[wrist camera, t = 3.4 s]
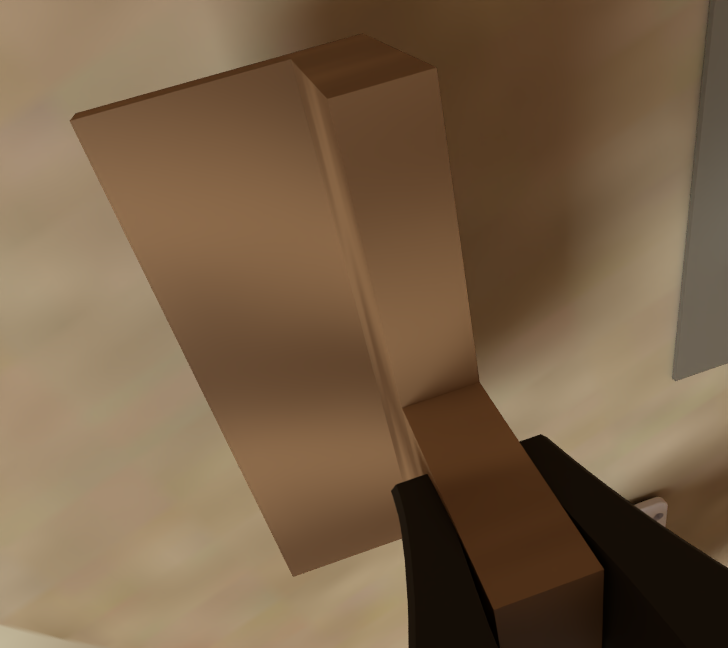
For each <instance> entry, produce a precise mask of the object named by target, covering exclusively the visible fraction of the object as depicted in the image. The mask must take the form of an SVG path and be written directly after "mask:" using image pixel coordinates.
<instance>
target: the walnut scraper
mask: <svg viewBox="0 0 728 648" xmlns="http://www.w3.org/2000/svg"><path fill="white" fill-rule="evenodd" d="M70 122H71V124H72V126H73V129H74V131H75V133H76V135H77V137H78V139H79V141H80V143H81V145H82V147H83V149H84V151H85V153H86V155H87V157H88V159H89V161H90V163H91V165H92V167H93V169H94V171H95V173H96V175H97V178H98V180H99V182H100V184H101V186H102V188H103V190H104V192H105V194H106V196H107V198H108V200H109V202H110V204H111V206H112V208H113V210H114V212H115V214H116V216H117V218H118V220H119V222H120V224H121V227H122V229H123V231H124V233H125V235H126V237H127V239H128V241H129V243H130V245H131V247H132V249H133V251H134V253H135V255H136V257H137V259H138V261H139V263H140V265H141V267H142V269H143V271H144V273H145V276H146V278H147V280H148V282H149V284H150V286H151V288H152V290H153V292H154V294H155V296H156V298H157V300H158V302H159V304H160V306H161V308H162V310H163V312H164V314H165V316H166V318H167V320H168V322H169V325H170V327H171V329H172V331H173V333H174V335H175V337H176V339H177V341H178V343H179V345H180V347H181V349H182V351H183V353H184V355H185V357H186V359H187V361H188V363H189V365H190V367H191V369H192V371H193V374H194V376H195V378H196V380H197V382H198V384H199V386H200V388H201V390H202V392H203V394H204V396H205V398H206V400H207V402H208V404H209V406H210V408H211V410H212V412H213V414H214V416H215V418H216V420H217V423H218V425H219V427H220V429H221V431H222V433H223V435H224V437H225V439H226V441H227V443H228V445H229V447H230V449H231V451H232V453H233V455H234V457H235V459H236V461H237V463H238V465H239V467H240V469H241V472H242V474H243V476H244V478H245V480H246V482H247V484H248V486H249V488H250V490H251V492H252V494H253V496H254V498H255V500H256V502H257V504H258V506H259V508H260V510H261V512H262V514H263V516H264V518H265V521H266V523H267V525H268V527H269V529H270V531H271V533H272V535H273V537H274V539H275V541H276V543H277V545H278V547H279V549H280V551H281V553H282V555H283V557H284V559H285V561H286V563H287V565H288V567H289V570H290V572H291V574H292V576H293V577H294V576H297V575H300V574H302V573H305V572H308V571H311V570H314V569H317V568H319V567H322V566H325V565H328V564H331V563H334V562H336V561H339V560H342V559H345V558H348V557H351V556H353V555H356V554H359V553H362V552H365V551H368V550H370V549H373V548H376V547H379V546H382V545H385V544H388V543H390V542H393V541H396V540H399V539H402V534H401V528H400V522H399V517H398V514H397V510H396V507H395V503H394V500H393V496H392V493H391V490H392V489H393V488H394V486H395V485H396V484H399V483H401V482H404V481H407V480H410V479H413V478H416V477H419V476H422V475H425V474H428V476H429V478H430V479H431V481H432V483H433V485H434V487H435V489H436V491H437V493H438V495H439V497H440V499H441V500H442V502H443V504H444V506H445V508H446V510H447V512H448V514H449V516H450V518H451V520H452V522H453V525H454V527H455V530H456V533H457V536H458V539H459V541H460V544H461V547H462V550H463V553H464V556H465V558H466V561H467V564H468V567H469V570H470V573H471V575H472V578H473V581H474V584H475V587H476V590H477V592H478V595H479V598H480V601H481V604H482V607H483V610H484V612H485V615H486V618H487V621H488V624H489V627H490V629H491V631H492V634H493V636H494V639H495V641H496V644H497V646H498V648H602V626H603V590H604V569H603V567H602V566H601V564H600V563H599V561H598V560H597V558H596V557H595V555H594V554H593V552H592V551H591V549H590V548H589V546H588V545H587V543H586V542H585V540H584V539H583V537H582V536H581V534H580V533H579V531H578V530H577V528H576V527H575V525H574V523H573V522H572V520H571V519H570V517H569V516H568V514H567V513H566V511H565V510H564V508H563V507H562V505H561V504H560V502H559V501H558V499H557V498H556V496H555V495H554V493H553V492H552V490H551V489H550V487H549V486H548V484H547V483H546V481H545V480H544V478H543V477H542V475H541V474H540V472H539V471H538V469H537V468H536V466H535V465H534V463H533V462H532V460H531V459H530V457H529V456H528V454H527V453H526V451H525V450H524V448H523V447H522V445H521V444H520V442H519V441H518V439H517V438H516V436H515V435H514V433H513V432H512V430H511V429H510V427H509V426H508V424H507V423H506V421H505V420H504V418H503V417H502V415H501V414H500V412H499V411H498V409H497V408H496V406H495V405H494V403H493V402H492V400H491V399H490V397H489V396H488V394H487V393H486V391H485V390H484V388H483V387H482V385H481V384H480V382H479V375H478V368H477V360H476V353H475V346H474V338H473V331H472V323H471V316H470V309H469V301H468V294H467V287H466V279H465V272H464V264H463V257H462V250H461V242H460V235H459V228H458V220H457V213H456V206H455V198H454V191H453V183H452V176H451V169H450V161H449V154H448V147H447V139H446V132H445V125H444V117H443V110H442V102H441V95H440V88H439V80H438V73H437V68H436V67H434V66H432V65H430V64H428V63H426V62H423V61H421V60H419V59H417V58H415V57H413V56H410V55H408V54H406V53H404V52H402V51H400V50H397V49H395V48H393V47H391V46H389V45H386V44H384V43H382V42H380V41H378V40H376V39H373V38H371V37H369V36H367V35H365V34H363V33H362V34H359V35H355V36H352V37H348V38H344V39H341V40H337V41H334V42H330V43H326V44H323V45H319V46H316V47H312V48H309V49H305V50H301V51H298V52H294V53H291V54H287V55H283V56H280V57H276V58H273V59H269V60H265V61H262V62H258V63H255V64H251V65H248V66H244V67H240V68H237V69H233V70H230V71H226V72H222V73H219V74H215V75H212V76H208V77H204V78H201V79H197V80H194V81H190V82H187V83H183V84H179V85H176V86H172V87H169V88H165V89H161V90H158V91H154V92H151V93H147V94H143V95H140V96H136V97H133V98H129V99H126V100H122V101H118V102H115V103H111V104H108V105H104V106H100V107H97V108H93V109H90V110H86V111H83V112H79V113H76V114H75V115H74V116H73V117H72V119H71V120H70Z"/></svg>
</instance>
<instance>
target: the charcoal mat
mask: <svg viewBox="0 0 728 648" xmlns="http://www.w3.org/2000/svg"><path fill="white" fill-rule="evenodd" d="M727 363H728V0H710V5H709V15H708V25H707V35H706V45H705V55H704V65H703V75H702V85H701V95H700V105H699V115H698V125H697V135H696V145H695V155H694V165H693V175H692V185H691V195H690V205H689V215H688V225H687V235H686V245H685V255H684V265H683V275H682V285H681V295H680V305H679V315H678V325H677V335H676V345H675V355H674V365H673V375H672V379H674V380H675V381H677V380H680V379H683V378H686V377H689V376H692V375H695V374H698V373H701V372H704V371H706V370H709V369H712V368H715V367H718V366H721V365H724V364H727Z"/></svg>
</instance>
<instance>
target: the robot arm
mask: <svg viewBox="0 0 728 648" xmlns="http://www.w3.org/2000/svg"><path fill="white" fill-rule="evenodd" d="M520 444H521V445H522V447H523V448H524V450H525V451H526V453H527V454H528V456H529V457H530V459H531V460H532V462H533V463H534V465H535V466H536V468H537V469H538V471H539V472H540V474H541V475H542V477H543V478H544V480H545V481H546V483H547V484H548V486H549V487H550V489H551V490H552V492H553V493H554V495H555V496H556V498H557V499H558V501H559V502H560V504H561V505H562V507H563V508H564V510H565V511H566V513H567V514H568V516H569V517H570V519H571V520H572V522H573V523H574V525H575V527H576V528H577V530H578V531H579V533H580V534H581V536H582V537H583V539H584V540H585V542H586V543H587V545H588V546H589V548H590V549H591V551H592V552H593V554H594V555H595V557H596V558H597V560H598V561H599V563H600V564H601V566H602V567H603V569H604V590H603V626H602V648H728V568H727V567H725V566H724V565H722V564H721V563H719V562H717V561H716V560H714V559H713V558H711V557H710V556H708V555H706V554H705V553H703V552H702V551H700V550H699V549H697V548H696V547H694V546H692V545H691V544H689V543H688V542H686V541H685V540H683V539H682V538H680V537H679V536H677V535H676V534H674V533H673V532H671V531H670V530H668V529H667V528H666V518H667V509H668V504H667V503H666V501H665V500H664V499H663V498H662V497H654V498H652V499H649V500H646V501H643V502H640V503H638V504H635V505H633V504H632V503H630V502H629V501H627V500H626V499H625V498H623V497H622V496H621V495H619V494H618V493H617V492H615V491H614V490H612V489H611V488H610V487H608V486H607V485H606V484H605V483H603V482H602V481H601V480H599V479H598V478H597V477H595V476H594V475H593V474H592V473H590V472H589V471H588V470H586V469H585V468H584V467H583V466H581V465H580V464H579V463H578V462H576V461H575V460H574V459H573V458H571V457H570V456H569V455H568V454H566V453H565V452H564V451H563V450H562V449H560V448H559V447H558V446H557V445H556V444H554V443H553V442H552V441H551V440H550V439H548V438H547V437H545V436H543V435H541V434H540V435H537V436H535V437H532V438H529V439H526V440H523V441H520ZM391 493H392V496H393V500H394V503H395V507H396V510H397V514H398V517H399V522H400V528H401V534H402V541H403V549H404V557H405V568H406V583H407V598H408V633H409V648H498V646H497V644H496V641H495V639H494V636H493V634H492V631H491V629H490V627H489V624H488V621H487V618H486V615H485V612H484V610H483V607H482V604H481V601H480V598H479V595H478V592H477V590H476V587H475V584H474V581H473V578H472V575H471V573H470V570H469V567H468V564H467V561H466V558H465V556H464V553H463V550H462V547H461V544H460V541H459V539H458V536H457V533H456V530H455V527H454V525H453V522H452V520H451V518H450V516H449V514H448V512H447V510H446V508H445V506H444V504H443V502H442V500H441V499H440V497H439V495H438V493H437V491H436V489H435V487H434V485H433V483H432V481H431V479H430V478H429V476H428V474H425V475H422V476H419V477H416V478H413V479H410V480H407V481H404V482H401V483H399V484H396V485H395V486H394V488H393V489H392V490H391Z"/></svg>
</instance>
